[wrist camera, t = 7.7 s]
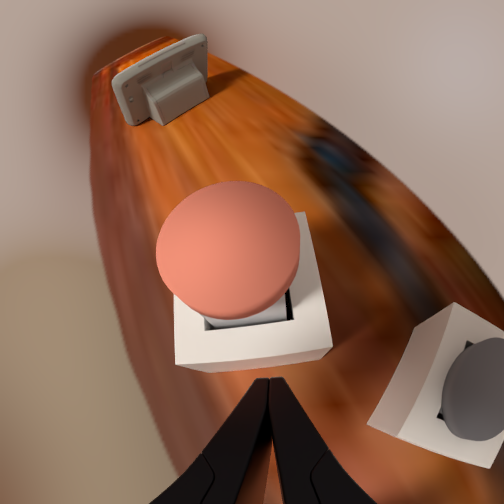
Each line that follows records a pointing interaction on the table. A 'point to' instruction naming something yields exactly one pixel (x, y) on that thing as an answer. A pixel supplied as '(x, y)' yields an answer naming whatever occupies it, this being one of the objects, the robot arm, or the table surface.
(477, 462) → the socket
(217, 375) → the table surface
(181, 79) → the digital clock
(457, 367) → the plug
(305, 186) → the table surface
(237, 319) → the red plug
